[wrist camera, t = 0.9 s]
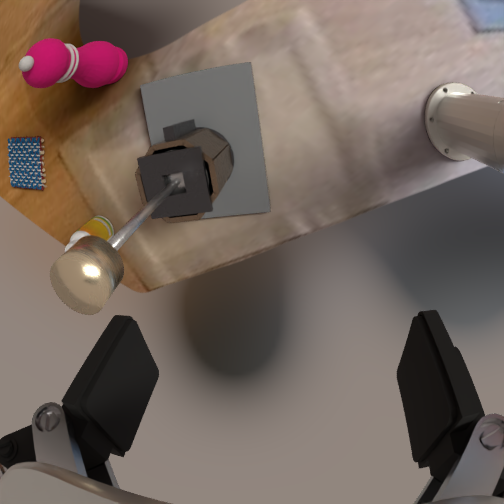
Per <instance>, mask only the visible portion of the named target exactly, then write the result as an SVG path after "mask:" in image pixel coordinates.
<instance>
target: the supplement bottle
mask: <svg viewBox="0 0 504 504" xmlns="http://www.w3.org/2000/svg"><path fill="white" fill-rule="evenodd" d="M87 235H94V236H98V237H101V238H103V239H105V240H106V241H109V240H110V239H111V238H112V237H113V235H114V229H113V226H112V224H111V222H110V221H109V220H108V219H107V218H105V217H103V216H95V217H93V218H92V219H91V220H89V221H88V222H87V223H86V224H85V225H83V226H82V227H81V228H80V229H79V230H77V231H76V232H75V233H74V234H73V235H72V237H71V239H70V243H69V244H68V245H67V246H66V247H65V252H66V251H67V250H68V249H69V248H70V247H71V246H72V245H74V244H75V243H76V242H77V241H78V240H79V239H80V238H82V237H84V236H87Z"/></svg>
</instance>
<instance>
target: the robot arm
mask: <svg viewBox="0 0 504 504" xmlns="http://www.w3.org/2000/svg"><path fill="white" fill-rule="evenodd" d="M443 90H444V91H443ZM429 119H430V120H429ZM425 125H426V130H427V133H428V136H429V138H430V140H431V142H432V144H433V145H434V147H435V148H436V149H437V150H438V151H439V152H440V153H441V154H443V155H444V156H446V157H448V158H450V159H453V160H456V161H464V160H468V159H470V158H473V159H475V160H477V161H479V162H481V163H483V164H486V165H488V166H490V167H492V168H494V169H496V170H498V171H500V172H501V173H503V174H504V98H500V97H494V96H487V95H479V94H477V93H476V92H475V91H474V90H473V89H471V88H470V87H468V86H466V85H464V84H461V83H454V82H452V83H445V84H443V85H441V86H439V87H438V88H436V89H435V90H434V91H433V93H432V94H431V96H430V97H429V99H428V102H427V105H426V110H425ZM444 150H445V151H444ZM158 377H159V370H158V368H157V366H156V363H155V361H154V359H153V357H152V355H151V353H150V351H149V349H148V347H147V344H146V342H145V340H144V338H143V336H142V333H141V331H140V329H139V327H138V324H137V322H136V321H135V320H133V319H132V317H130V316H121V315H116V316H114V317H113V318H112V320H111V321H110V323H109V324H108V326H107V328H106V329H105V330H104V332H103V333H102V335H101V337H100V338H99V340H98V341H97V343H96V344H95V346H94V348H93V349H92V351H91V352H90V354H89V356H88V357H87V359H86V360H85V362H84V364H83V365H82V367H81V369H80V370H79V372H78V374H77V375H76V377H75V379H74V380H73V382H72V384H71V385H70V387H69V389H68V390H67V392H66V394H65V396H64V398H63V399H62V402H63V405H62V407H61V406H60V405H59V404H57V403H53V402H50V403H45V404H44V405H42V406H40V407H39V408H38V409H37V410H36V412H35V413H34V415H33V418H32V425H30V426H27V427H25V428H22V429H20V430H18V431H16V432H13V433H11V434H8V435H6V436H4V437H2V438H1V439H0V504H171V503H167V502H163V501H158V500H155V499H151V498H147V497H144V496H141V495H137V494H134V493H131V492H127V491H124V490H121V489H120V488H119V485H118V483H117V480H116V478H115V475H114V472H113V470H112V467H111V464H110V462H109V459H108V458H109V455H110V453H112V454H114V455H118V456H121V457H124V455H125V452H126V451H129V449H130V448H131V445H132V443H133V440H134V437H135V435H136V432H137V430H138V427H139V425H140V422H141V419H142V417H143V414H144V412H145V409H146V407H147V404H148V402H149V399H150V397H151V395H152V392H153V390H154V387H155V385H156V382H157V380H158ZM397 380H398V385H399V389H400V394H401V398H402V402H403V407H404V412H405V417H406V422H407V427H408V433H409V438H410V444H411V450H412V456H413V460H414V461H415V462H418V465H419V468H423V467H428V466H429V468H430V474H431V478H430V479H429V481H428V482H427V484H426V486H425V487H424V489H423V490H422V492H421V493H420V495H419V496H418V498H417V499H416V501H415V502H414V504H504V416H502V415H499V414H488V415H486V416H485V414H484V411H483V408H482V405H481V402H480V400H479V397H478V394H477V392H476V389H475V386H474V384H473V381H472V379H471V376H470V374H469V371H468V369H467V367H466V364H465V362H464V360H463V357H462V355H461V353H460V351H459V349H458V348H457V347H454V346H453V343H452V341H451V339H450V337H449V335H448V332H447V330H446V328H445V326H444V324H443V322H442V320H441V318H440V316H439V314H438V312H437V311H436V310H430V311H421V312H419V313H418V316H416V317H414V318H413V320H412V324H411V327H410V331H409V334H408V338H407V341H406V344H405V347H404V351H403V354H402V357H401V360H400V363H399V366H398V369H397Z"/></svg>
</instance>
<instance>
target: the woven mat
mask: <svg viewBox="0 0 504 504" xmlns="http://www.w3.org/2000/svg"><path fill="white" fill-rule="evenodd" d="M43 141H44V139H41V137H39V136H37V139H36V137H31V139H30V137H26V139H25V137H18V138H17V137H11V140H10V139H8V143H9V144H8V145H9V146H8V147H7V148H8V151H9V154H8V156H9V159H10V160H9V161H8V162H9V164H10V165H9V166H10V168H9V169H10V173H11V174H10V176H9V177H10V178H11V179H10V180H11V181H10V183H11V185H12V187H13V186H14V187H18V186H19V188H26V189H27V188H28V189H30V188H31V189H33V188H34V189H36V190H38V189H40V190H41V189H42V190H44V187H47V186H46V185H44V183H46V179H44V177H43V176H46V174H43V172H44V171H45V168H42V166H44V162H42V159H44V157H42V156H43V154H44V151H43V150H42V148H45V146H42V145H41V142H43ZM33 142H34V143H33ZM18 159H19V160H18ZM39 159H40V160H39ZM29 160H30V161H29ZM37 161H38V162H37ZM11 163H12V164H11ZM12 170H13V171H12ZM12 174H13V175H12ZM23 186H24V187H23Z"/></svg>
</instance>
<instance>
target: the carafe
mask: <svg viewBox="0 0 504 504" xmlns="http://www.w3.org/2000/svg"><path fill="white" fill-rule="evenodd" d="M163 133H164V138H165V140H163V141H161V142H159V143H156V144H154V145H152V146H151V147H150V148H149V150H148V152H147V153H146V155H145V156H143V157H139V158H137V160H138V165H139V167H138V169H137V171H136V172H135V173H136V174H135V176H136V180H137V184H138V188H139V192H140V196H141V200H142V203H143V204H144V206H145V205H146V204H147V203H148V202H149V201H150V200H151V199H152V198H153V197H155V196H156V195H157V194H158V193H159V192H160V191H161V190H162V189H163V188H164V187H166V184H165V180H164V175H168V174H174V173H180V172H182V174H183V179H184V184H185V188H186V192H183V193H176V194H170V195H169V196H168V197H167V198H166V199H165V200H164V201H163V202H162V203H161V204H160V205H159V206H158V207H157V208H156V209H155V210H154V211H153V212H152V213H151V217H152V219H156V218H162V219H164V220H165V221H167V222H170V223H175V222H184V221H192V220H199V219H201V218H202V217H203V215H204V214H205V212H212V211H213V206H212V203H213V202H214V200H215V199H216V198H217V197H218V195H219V194H220V192H221V190H222V188H223V187H224V185H225V183H226V182H227V181H228V179H229V178H230V176H231V174H232V171H233V168H234V154H233V150H232V147H231V145H230V143H229V142H228V141H227V139H226V138H225V137H224V136H223V135H222V134H220V133H219V132H217V131H215V130H213V129H210V128H206V127H195V121H194V119H191V120H186V121H183V122H179V123H176V124H173V125H170V126H167V127H164V128H163ZM174 149H178V150H174ZM169 150H173V151H169ZM166 151H168V152H166ZM205 166H206V168H207V171H208V174H209V185H208V180H207V174H206V169H205Z"/></svg>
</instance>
